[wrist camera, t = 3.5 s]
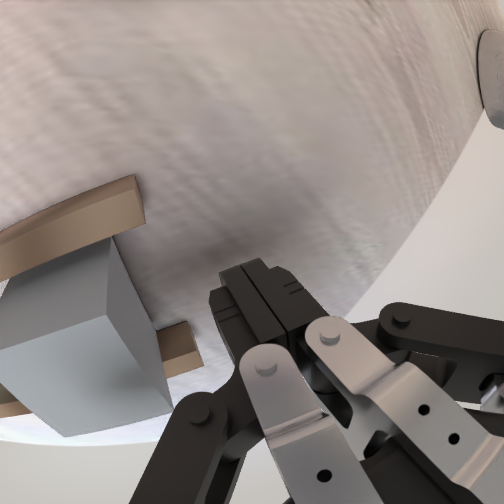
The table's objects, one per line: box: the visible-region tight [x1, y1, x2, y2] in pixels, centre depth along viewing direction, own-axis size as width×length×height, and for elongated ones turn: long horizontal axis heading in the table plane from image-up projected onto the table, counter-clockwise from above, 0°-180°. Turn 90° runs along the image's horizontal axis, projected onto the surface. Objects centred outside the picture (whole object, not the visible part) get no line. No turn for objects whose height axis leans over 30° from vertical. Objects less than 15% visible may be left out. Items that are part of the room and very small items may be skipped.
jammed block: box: [0, 236, 174, 437], centre depth 9 cm, size 5×5×4 cm
